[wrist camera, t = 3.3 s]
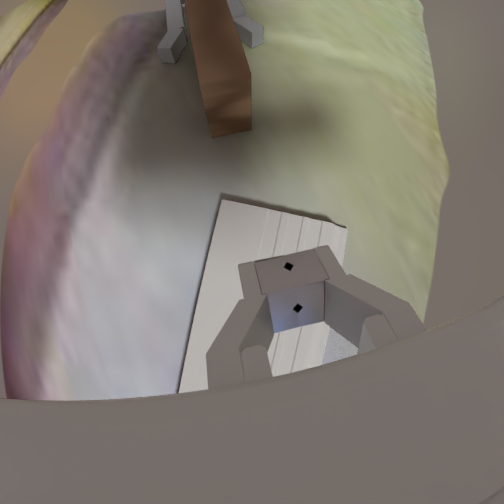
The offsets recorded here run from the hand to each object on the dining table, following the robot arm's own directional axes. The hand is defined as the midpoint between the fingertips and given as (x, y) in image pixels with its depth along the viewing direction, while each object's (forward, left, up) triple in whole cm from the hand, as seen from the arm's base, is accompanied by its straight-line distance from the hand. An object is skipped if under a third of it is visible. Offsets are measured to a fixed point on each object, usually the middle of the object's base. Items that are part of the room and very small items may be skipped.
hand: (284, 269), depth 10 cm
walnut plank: (0, +20, -14) cm, 24 cm away
